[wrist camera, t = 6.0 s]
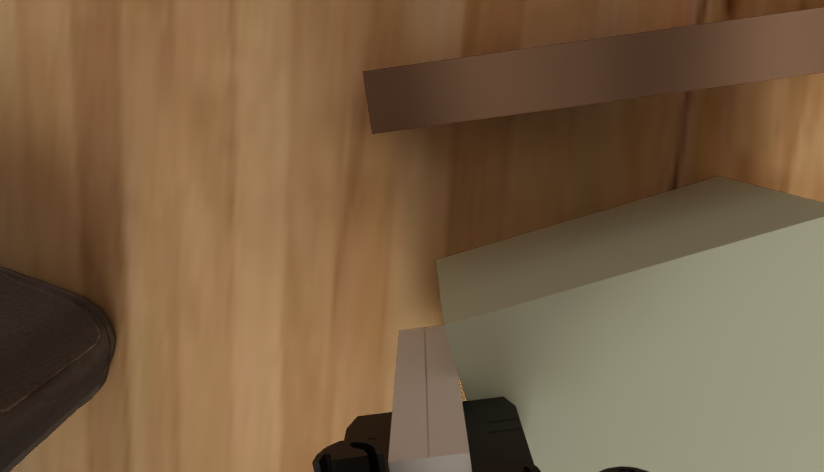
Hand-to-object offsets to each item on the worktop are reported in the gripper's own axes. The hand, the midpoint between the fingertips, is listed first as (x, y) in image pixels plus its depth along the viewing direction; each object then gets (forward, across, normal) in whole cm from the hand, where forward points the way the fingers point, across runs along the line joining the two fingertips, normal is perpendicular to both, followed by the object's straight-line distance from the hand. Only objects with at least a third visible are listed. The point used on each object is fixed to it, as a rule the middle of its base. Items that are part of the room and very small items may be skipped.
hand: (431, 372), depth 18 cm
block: (+3, +6, 0) cm, 6 cm away
